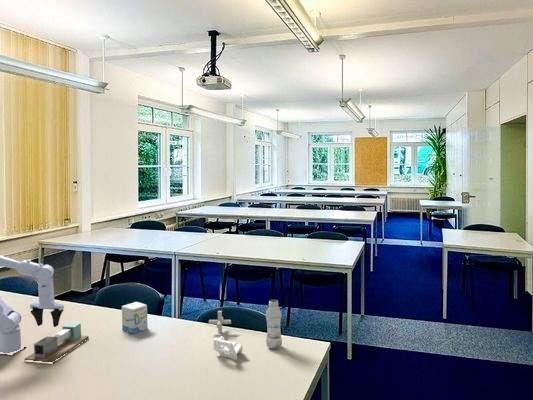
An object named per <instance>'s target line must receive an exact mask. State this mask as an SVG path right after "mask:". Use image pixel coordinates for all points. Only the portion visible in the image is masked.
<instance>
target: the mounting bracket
mask: <svg viewBox="0 0 533 400" xmlns="http://www.w3.org/2000/svg"><path fill="white" fill-rule="evenodd" d="M243 347H244V346H243V344H240V343H237V342H235V341H234V342H232V341H228V340H225V337H224V336H223V335H221V336H220V337H219V338H218V337H216V338H214V340H213V350H214V351H215V352H217V353H218V354H219V356H222V357H225V358H229V359H232V360H235V361H236V360H237V359H238V354H239V355H242V353H243V349H244V348H243Z"/></svg>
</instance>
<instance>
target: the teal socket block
mask: <svg viewBox="0 0 533 400" xmlns="http://www.w3.org/2000/svg"><path fill="white" fill-rule="evenodd" d="M81 325H82V324H81V323H78V322H77V323H76V322H68V323H66V324H64V325H63V326H62V330H64V329H65V328H73V335H72V336H70V337H69V338H67V339H66V340H76V339H78V338H79V337H81V336H82V326H81Z"/></svg>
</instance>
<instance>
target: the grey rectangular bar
mask: <svg viewBox="0 0 533 400" xmlns="http://www.w3.org/2000/svg"><path fill="white" fill-rule="evenodd" d="M72 335H73V328H65V329H64V330H63V329H62V330H60V331H59V332H57V333H54V335H51V337H57V345H58V344H59V343H61V342H62V341H64V340H66V339H67V338H69V337H70V336H72Z"/></svg>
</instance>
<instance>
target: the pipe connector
mask: <svg viewBox="0 0 533 400" xmlns="http://www.w3.org/2000/svg"><path fill="white" fill-rule="evenodd" d="M222 315H223V310H218V311H217V319H209V320H208V324H209V325H216V328H217V331H218V332H217V333H218V334H222V333H223V325H229V324H230V325H232V320H231V319H224V316H222Z"/></svg>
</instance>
